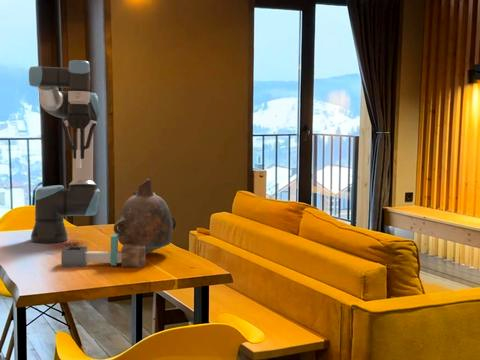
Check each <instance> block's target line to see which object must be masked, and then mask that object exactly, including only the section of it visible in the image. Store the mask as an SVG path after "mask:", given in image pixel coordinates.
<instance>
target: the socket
mask: <svg viewBox="0 0 480 360" xmlns="http://www.w3.org/2000/svg"><path fill="white" fill-rule="evenodd" d="M121 251H122V263H121V268H122V269H124V268H125V269H128V268H129V269H145V266H146V254H145V253H146V244H123V245H122V247H121Z"/></svg>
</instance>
